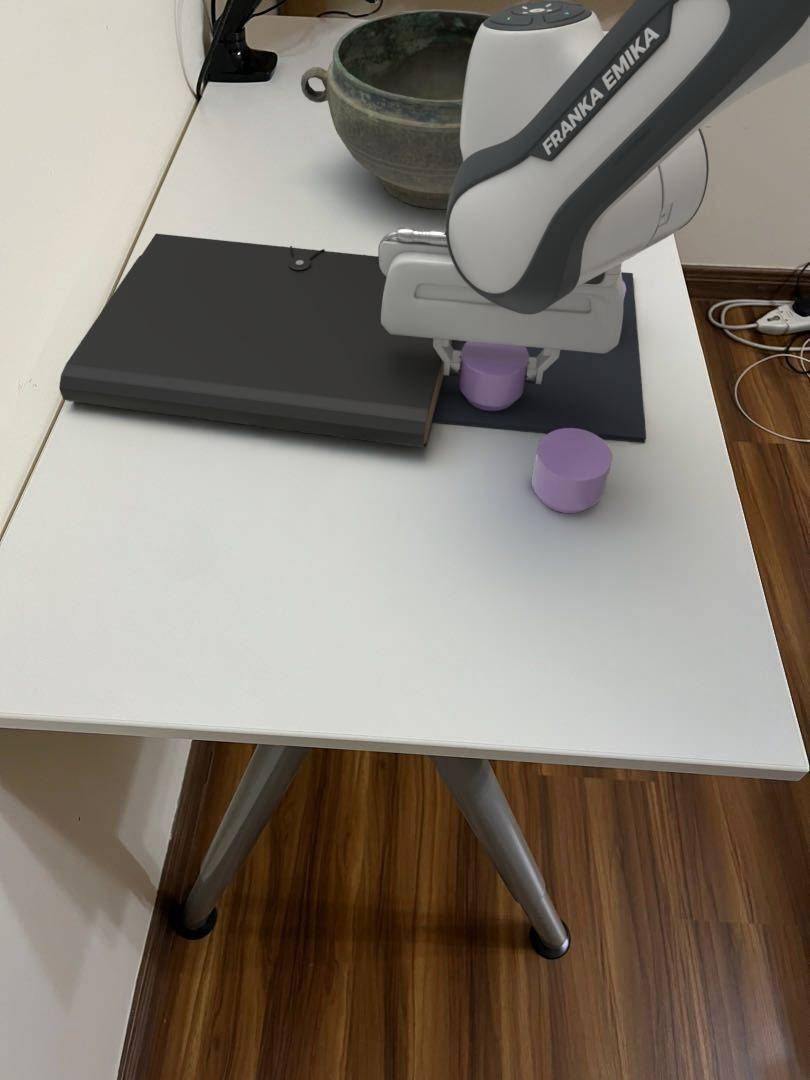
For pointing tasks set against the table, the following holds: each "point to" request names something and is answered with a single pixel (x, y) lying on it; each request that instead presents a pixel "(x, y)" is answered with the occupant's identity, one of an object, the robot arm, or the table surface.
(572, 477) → the purple short cylinder
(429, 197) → the bowl
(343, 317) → the file folder
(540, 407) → the mat
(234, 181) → the table surface
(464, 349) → the lilac cylinder puck
